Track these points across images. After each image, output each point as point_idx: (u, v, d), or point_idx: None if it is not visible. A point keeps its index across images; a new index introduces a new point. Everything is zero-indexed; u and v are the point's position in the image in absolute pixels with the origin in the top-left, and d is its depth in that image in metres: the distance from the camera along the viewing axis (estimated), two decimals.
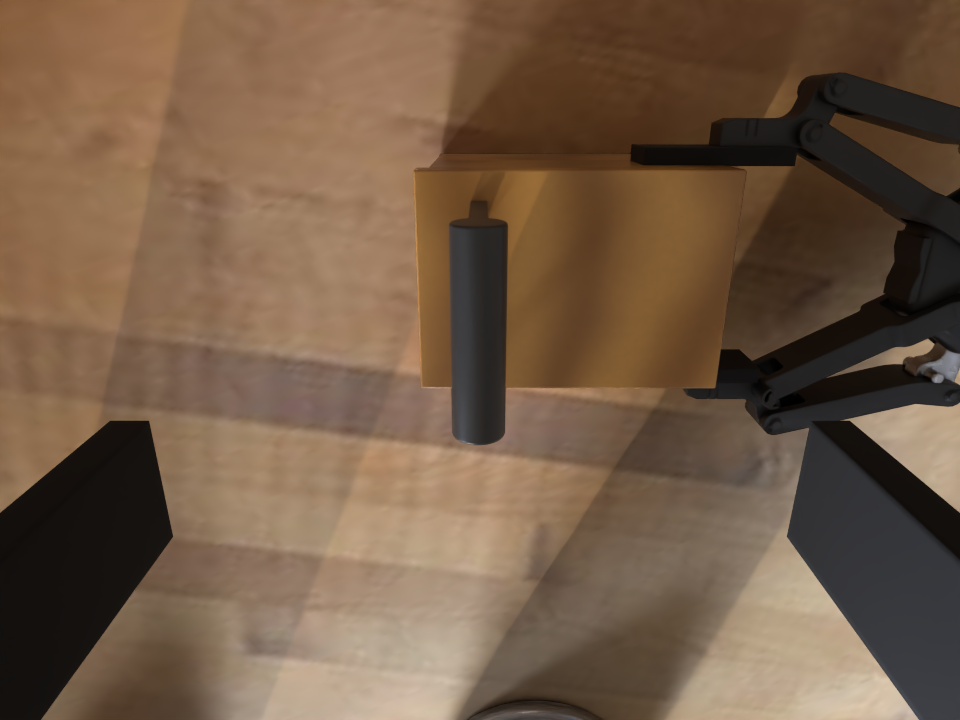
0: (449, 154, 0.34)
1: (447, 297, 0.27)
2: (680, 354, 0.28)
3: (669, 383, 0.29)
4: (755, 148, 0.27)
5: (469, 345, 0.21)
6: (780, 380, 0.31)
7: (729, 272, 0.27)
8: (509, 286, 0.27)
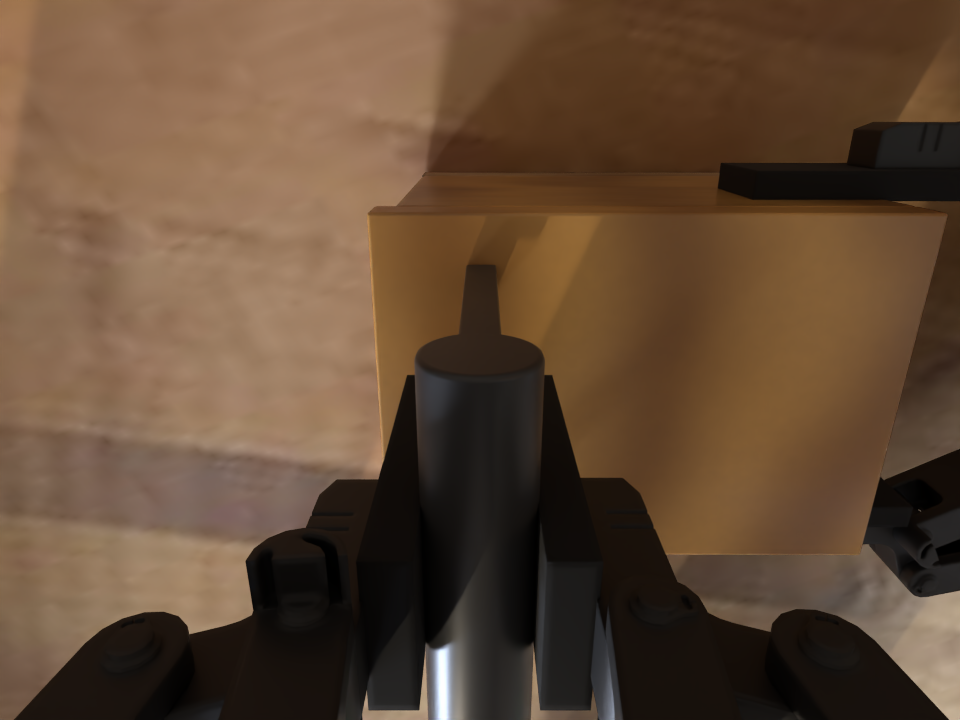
0: (437, 174, 0.24)
1: None
2: (808, 504, 0.17)
3: (786, 548, 0.18)
4: (939, 172, 0.17)
5: (460, 605, 0.10)
6: (941, 522, 0.21)
7: (901, 381, 0.16)
8: None
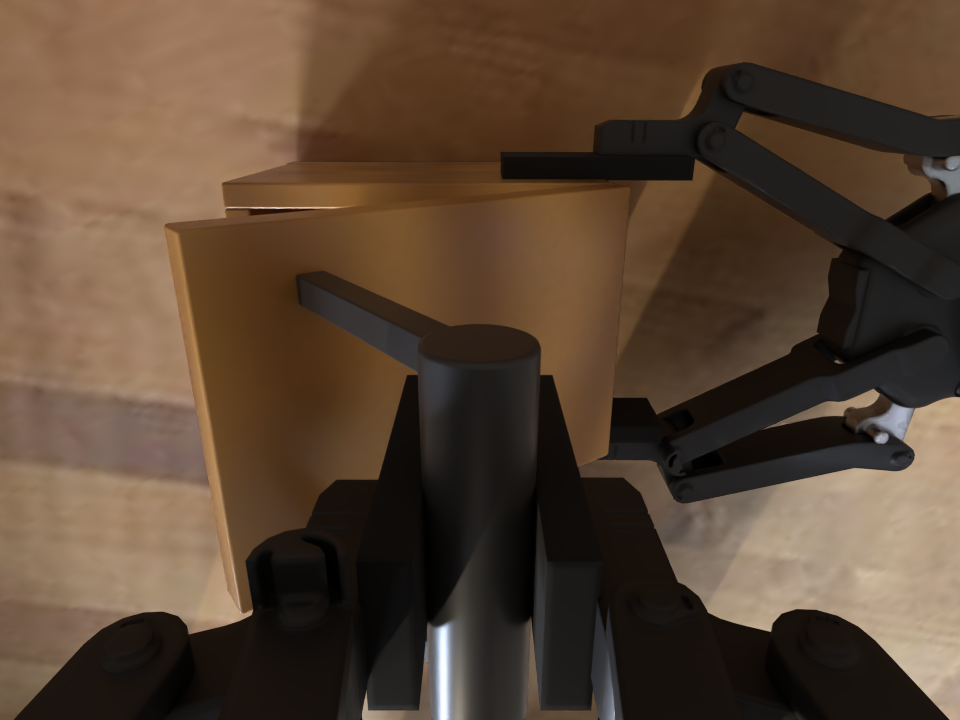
0: (301, 162, 0.29)
1: (271, 450, 0.15)
2: (576, 427, 0.22)
3: None
4: (642, 158, 0.22)
5: (496, 584, 0.10)
6: (689, 440, 0.26)
7: (618, 315, 0.21)
8: (371, 401, 0.16)
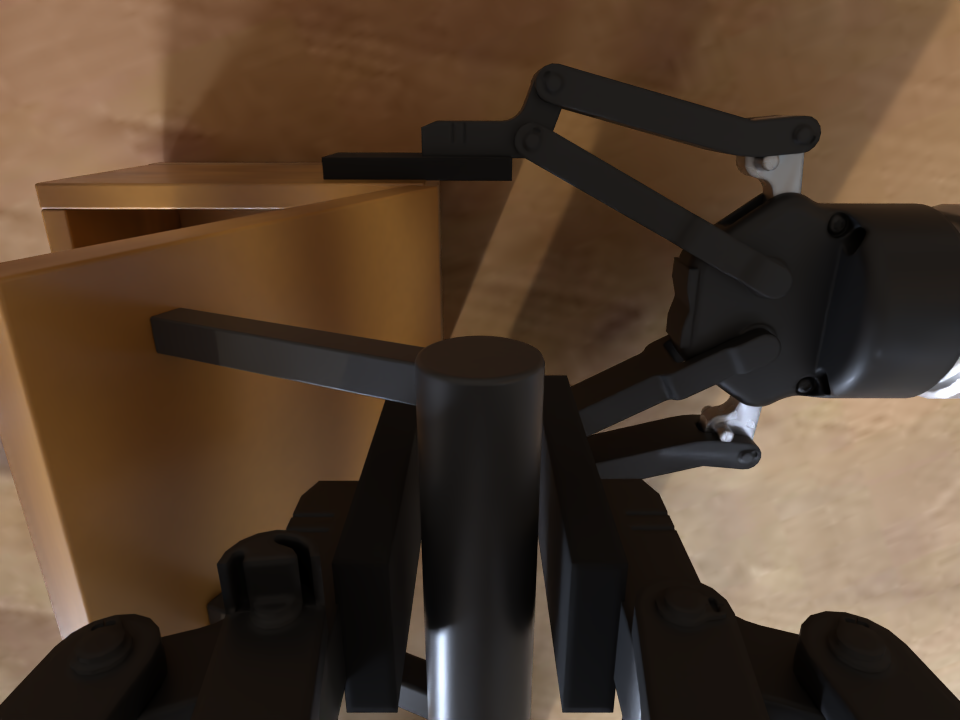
0: (165, 163, 0.29)
1: (143, 539, 0.12)
2: None
3: None
4: (460, 158, 0.22)
5: (521, 596, 0.10)
6: None
7: (440, 313, 0.22)
8: (242, 451, 0.14)
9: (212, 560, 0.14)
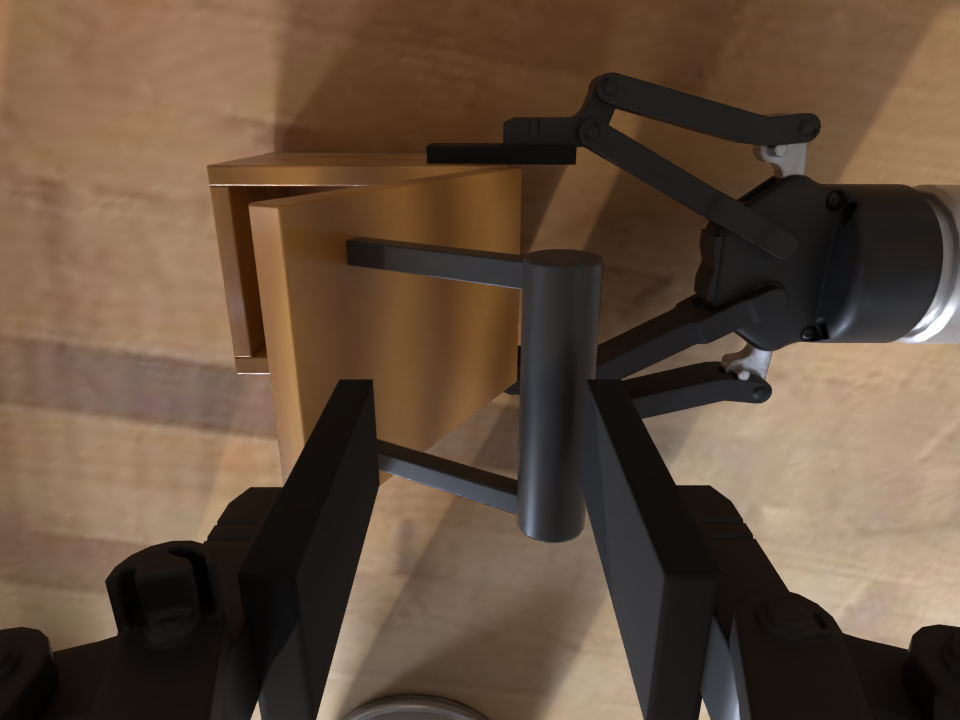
0: (277, 153, 0.35)
1: (332, 388, 0.18)
2: (500, 359, 0.27)
3: (495, 392, 0.28)
4: (535, 147, 0.28)
5: (583, 415, 0.16)
6: None
7: None
8: (388, 344, 0.20)
9: None
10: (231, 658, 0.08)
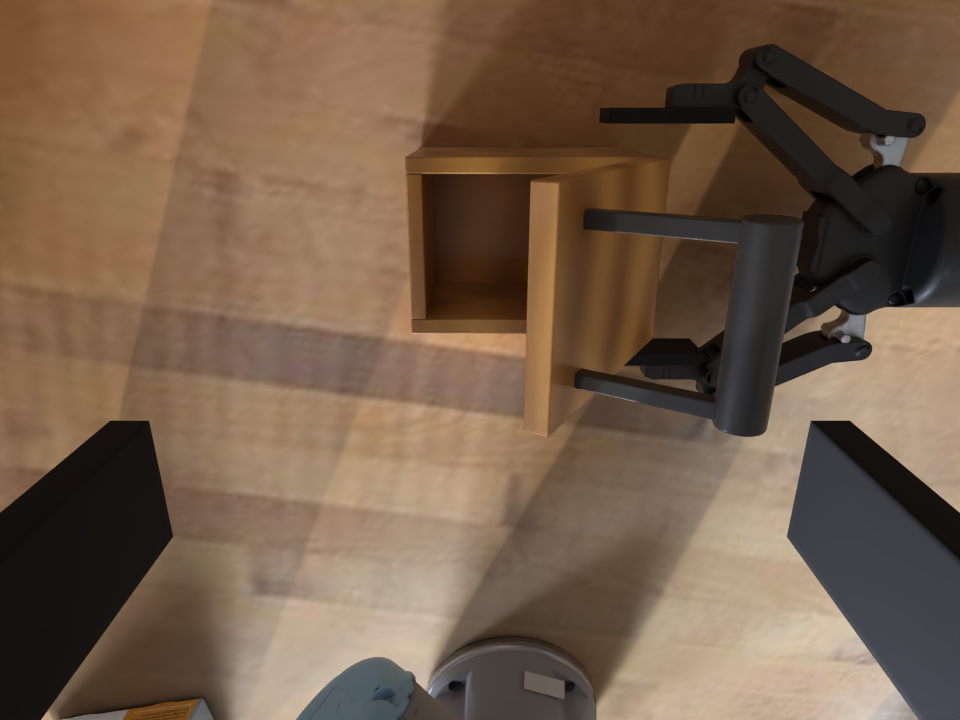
0: (427, 147, 0.40)
1: (567, 323, 0.24)
2: (645, 318, 0.33)
3: (640, 346, 0.33)
4: (701, 108, 0.33)
5: (779, 337, 0.21)
6: (718, 362, 0.38)
7: (661, 242, 0.33)
8: (594, 294, 0.26)
9: (579, 349, 0.26)
10: None
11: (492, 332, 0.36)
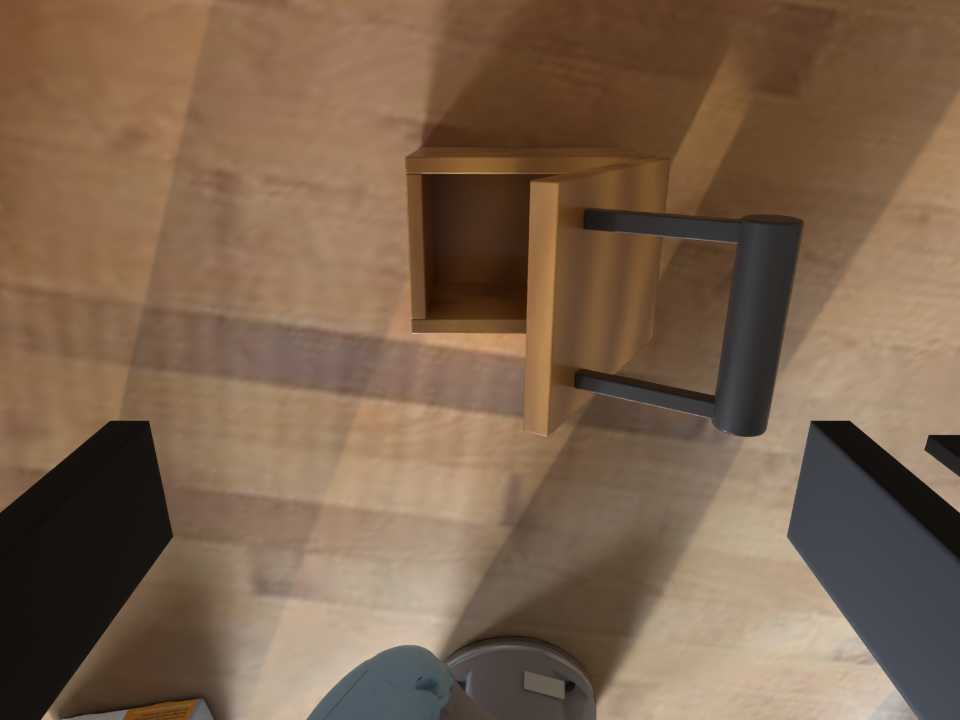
0: (427, 147, 0.40)
1: (567, 323, 0.24)
2: (645, 318, 0.33)
3: (640, 346, 0.33)
4: None
5: (779, 337, 0.21)
6: None
7: (661, 242, 0.33)
8: (594, 294, 0.26)
9: (579, 349, 0.26)
10: None
11: (492, 332, 0.36)
